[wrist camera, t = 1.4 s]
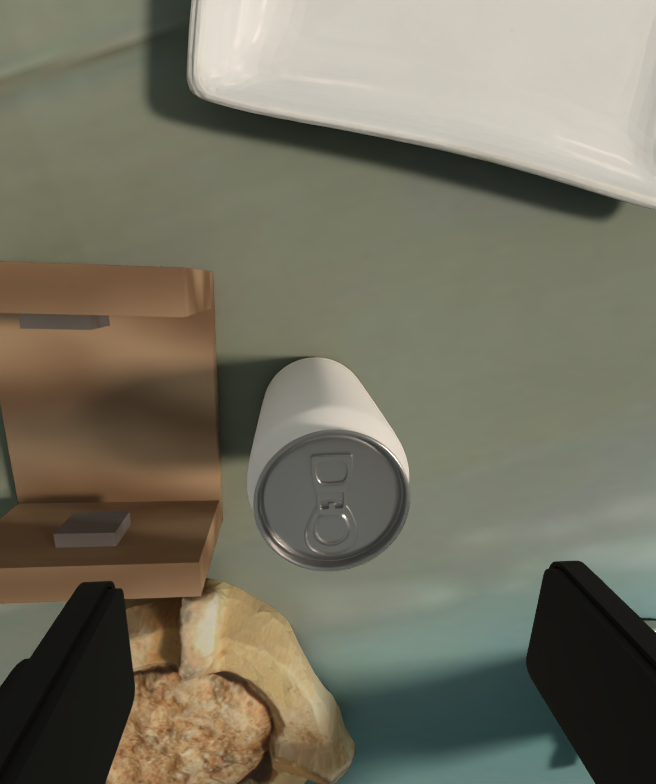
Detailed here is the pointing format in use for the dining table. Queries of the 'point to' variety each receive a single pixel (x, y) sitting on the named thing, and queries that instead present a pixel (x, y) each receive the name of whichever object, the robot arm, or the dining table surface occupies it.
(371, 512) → the can
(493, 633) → the dining table surface
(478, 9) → the square plate
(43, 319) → the holder
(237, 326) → the dining table surface
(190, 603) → the ashtray
